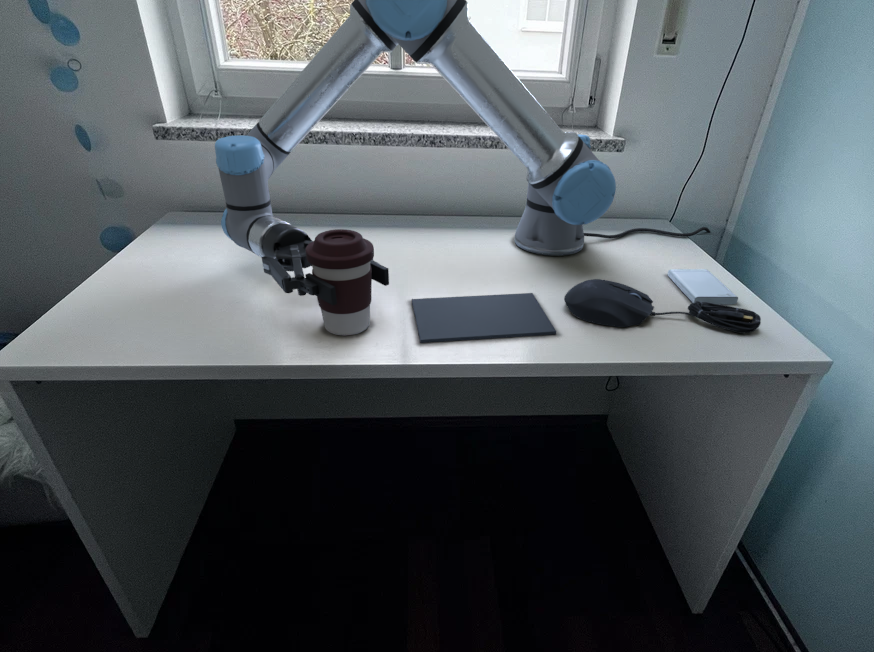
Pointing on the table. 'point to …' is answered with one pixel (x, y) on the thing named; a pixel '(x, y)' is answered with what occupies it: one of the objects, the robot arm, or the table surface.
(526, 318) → the mat
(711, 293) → the hard drive
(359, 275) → the coffee cup
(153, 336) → the table surface
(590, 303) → the computer mouse
